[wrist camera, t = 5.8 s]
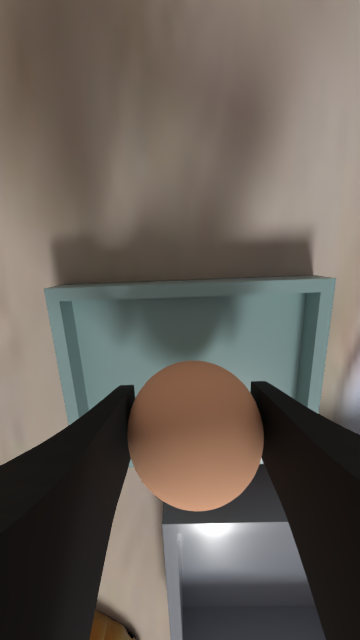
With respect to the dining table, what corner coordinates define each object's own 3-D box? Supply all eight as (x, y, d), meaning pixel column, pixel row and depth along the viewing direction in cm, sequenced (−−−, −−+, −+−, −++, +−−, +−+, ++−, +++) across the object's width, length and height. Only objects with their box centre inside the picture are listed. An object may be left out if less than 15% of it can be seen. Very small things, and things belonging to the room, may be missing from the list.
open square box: (375, 460, 15) (433, 518, 12) (346, 599, 18) (383, 677, 15) (166, 465, 15) (162, 524, 12) (175, 602, 19) (173, 679, 15)
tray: (313, 275, 12) (336, 278, 10) (296, 438, 15) (312, 462, 13) (63, 284, 12) (43, 288, 11) (89, 443, 15) (76, 468, 13)
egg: (243, 338, 11) (293, 405, 6) (244, 431, 12) (286, 549, 7) (133, 346, 11) (95, 417, 6) (146, 437, 12) (122, 556, 7)
